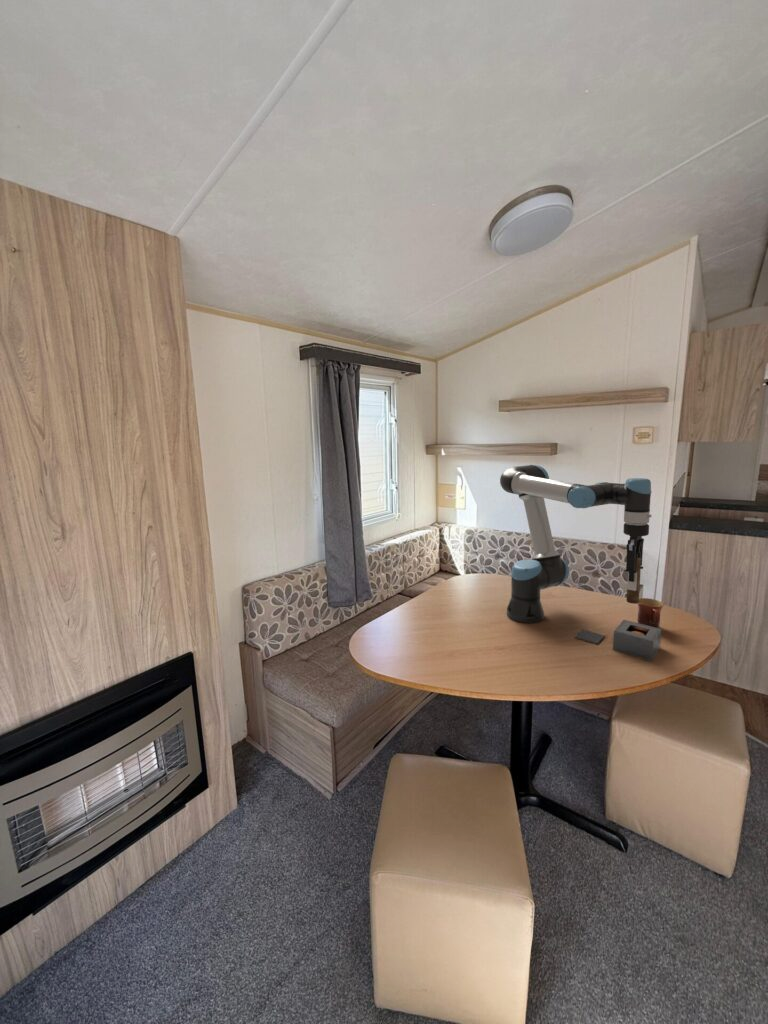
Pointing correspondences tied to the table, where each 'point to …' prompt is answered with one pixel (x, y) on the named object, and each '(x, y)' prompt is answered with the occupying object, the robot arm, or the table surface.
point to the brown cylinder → (634, 595)
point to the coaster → (589, 636)
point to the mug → (649, 612)
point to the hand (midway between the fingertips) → (633, 587)
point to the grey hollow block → (637, 639)
